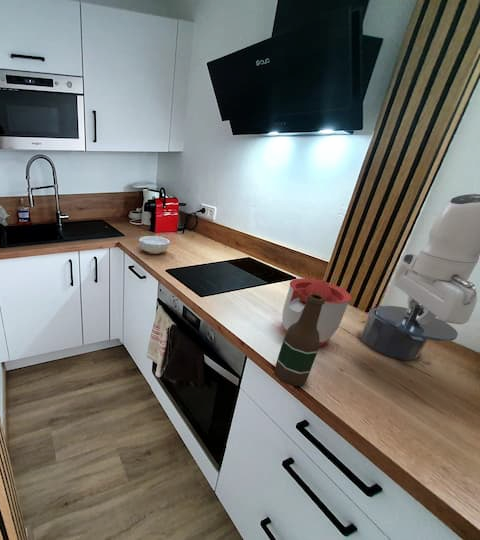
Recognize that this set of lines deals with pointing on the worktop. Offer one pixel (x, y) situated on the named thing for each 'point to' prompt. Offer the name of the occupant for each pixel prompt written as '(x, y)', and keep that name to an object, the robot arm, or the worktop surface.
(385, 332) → the pot
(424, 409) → the worktop surface
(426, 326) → the pot lid
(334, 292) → the citrus juicer
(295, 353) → the beer bottle
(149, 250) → the cereal bowl
